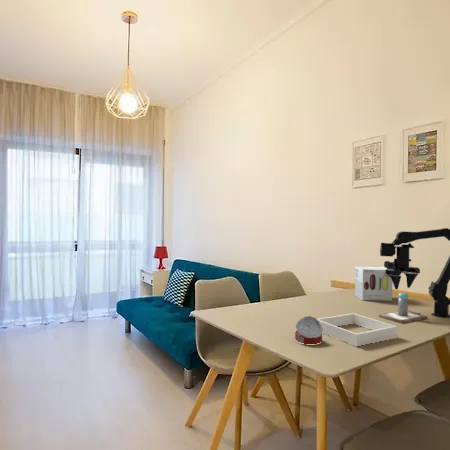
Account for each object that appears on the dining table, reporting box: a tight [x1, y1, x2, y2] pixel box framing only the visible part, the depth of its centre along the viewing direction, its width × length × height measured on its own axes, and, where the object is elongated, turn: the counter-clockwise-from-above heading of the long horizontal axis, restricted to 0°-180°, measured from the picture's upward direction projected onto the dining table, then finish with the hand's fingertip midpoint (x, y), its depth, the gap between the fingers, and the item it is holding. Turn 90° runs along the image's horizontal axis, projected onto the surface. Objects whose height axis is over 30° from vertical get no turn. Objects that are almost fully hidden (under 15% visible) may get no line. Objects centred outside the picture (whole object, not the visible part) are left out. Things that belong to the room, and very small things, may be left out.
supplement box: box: [354, 265, 393, 302], centre depth 206 cm, size 17×13×18 cm
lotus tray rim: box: [316, 312, 399, 347], centre depth 141 cm, size 22×22×4 cm
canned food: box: [294, 315, 323, 344], centre depth 133 cm, size 11×10×10 cm
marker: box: [397, 292, 409, 316], centre depth 165 cm, size 4×4×10 cm
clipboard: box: [378, 309, 428, 324], centre depth 165 cm, size 18×12×2 cm, turn 117°
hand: (402, 288), depth 174 cm, fingers open, 9 cm apart
